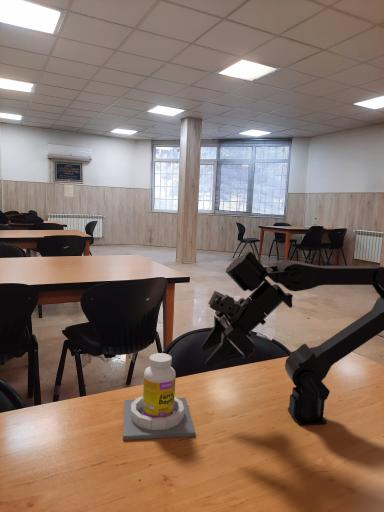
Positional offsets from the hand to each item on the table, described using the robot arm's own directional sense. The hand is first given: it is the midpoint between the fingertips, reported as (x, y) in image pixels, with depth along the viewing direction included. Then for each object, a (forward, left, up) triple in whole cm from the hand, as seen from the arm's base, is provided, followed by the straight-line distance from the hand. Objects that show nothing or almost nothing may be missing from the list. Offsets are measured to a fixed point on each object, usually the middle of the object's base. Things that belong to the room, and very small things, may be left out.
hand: (204, 356), depth 81 cm
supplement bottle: (+10, 0, -13) cm, 16 cm away
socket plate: (+10, 0, -14) cm, 17 cm away
